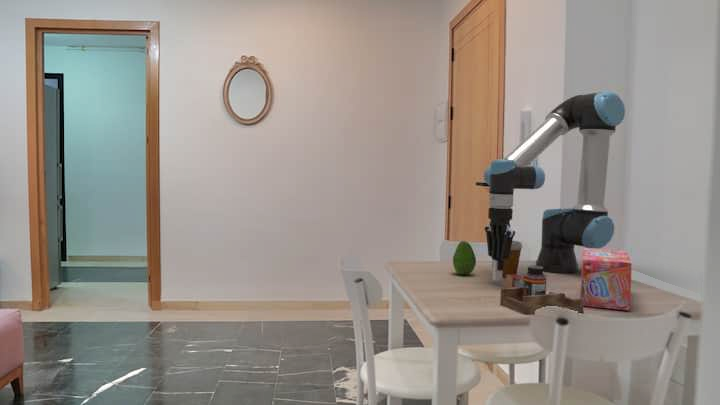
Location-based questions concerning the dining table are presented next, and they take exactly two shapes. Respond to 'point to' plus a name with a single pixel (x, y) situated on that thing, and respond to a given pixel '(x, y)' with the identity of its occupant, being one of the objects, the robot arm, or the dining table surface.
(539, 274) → the supplement bottle
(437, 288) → the dining table surface
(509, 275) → the bar
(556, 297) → the base
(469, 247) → the avocado
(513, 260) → the disposable coffee cup
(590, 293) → the box
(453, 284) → the dining table surface
